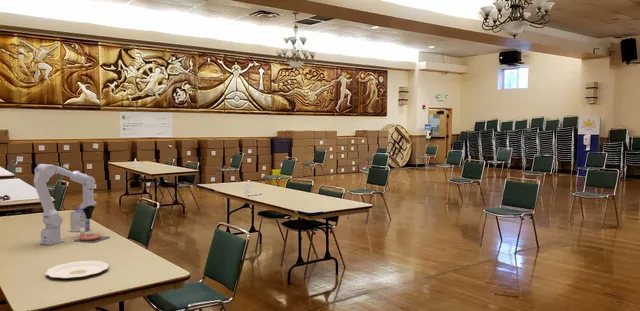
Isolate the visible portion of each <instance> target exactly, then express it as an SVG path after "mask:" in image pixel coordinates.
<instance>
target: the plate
mask: <svg viewBox="0 0 640 311" xmlns="http://www.w3.org/2000/svg"><path fill="white" fill-rule="evenodd" d="M109 266H110V264H109V263H107V262H104V261H102V260H82V261H81V260H80V261H70V262H67V263H62V264H58V265H55V266H52V267H50V268H48V269H46V272H45V273H44V274H45V276H47V277H49V278H51V279H60V280H77V279H85V278H88V277H89V278H90V277H92V276H95V275H98V274H100V273H102V272H104V271H107V270H108V269H109ZM75 271H85V272H82V273H77V274H72V272H75Z"/></svg>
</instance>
